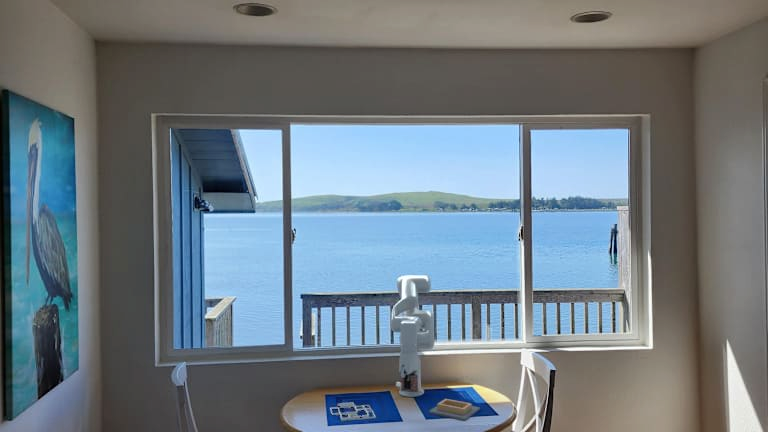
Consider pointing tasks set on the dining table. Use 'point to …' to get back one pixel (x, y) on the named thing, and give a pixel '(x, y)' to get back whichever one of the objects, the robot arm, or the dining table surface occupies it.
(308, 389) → the dining table surface
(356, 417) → the floor plan model
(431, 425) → the dining table surface
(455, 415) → the tan recessed tray
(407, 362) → the robot arm
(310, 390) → the dining table surface
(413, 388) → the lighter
